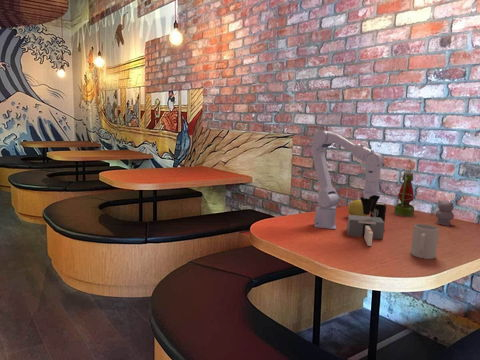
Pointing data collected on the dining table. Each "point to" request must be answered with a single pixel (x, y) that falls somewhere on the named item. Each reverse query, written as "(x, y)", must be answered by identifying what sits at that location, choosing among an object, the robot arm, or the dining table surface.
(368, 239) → the pale narrow strip
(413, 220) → the dining table surface
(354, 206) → the fruit
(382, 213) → the beverage can
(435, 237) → the mug
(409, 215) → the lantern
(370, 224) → the panel
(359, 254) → the dining table surface
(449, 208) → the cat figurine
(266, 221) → the dining table surface
